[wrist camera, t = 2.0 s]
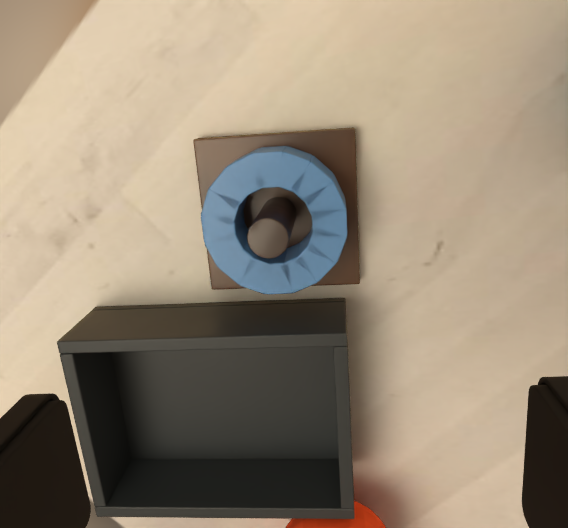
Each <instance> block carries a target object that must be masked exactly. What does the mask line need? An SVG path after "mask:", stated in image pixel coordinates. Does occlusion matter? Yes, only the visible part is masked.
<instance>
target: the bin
mask: <svg viewBox="0 0 568 528" xmlns="http://www.w3.org/2000/svg"><path fill="white" fill-rule="evenodd" d="M57 344H58V349H59V353H61V354H60V357H61V362H62V366H63V371H64V375H65V379H66V384H67V388H68V392H69V397H70V401H71V405H72V410H73V414H74V419H75V423H76V427H77V432H78V436H79V440H80V445H81V449H82V454H83V458H84V462H85V467H86V471H87V475H88V480H89V484H90V489H91V493H92V497H93V502H94V505H95V511H96V515H97V516H98V517H189V518H292V519H354V518H355V514H354V489H353V464H352V439H351V414H350V389H349V364H348V339H347V321H346V306H345V298H335V299H307V300H279V301H251V302H223V303H195V304H167V305H139V306H111V307H95V308H94V309H93V310H92V311H91V312H90V313H89V314H88V315H86V316H85V317H84V318H83V319H82V320H81V321H80V322H79V323H77V324H76V325H75V326H74V327H73V328H72V329H71V330H70V331H69V332H67V333H66V334H65V335H64V336H63V337H62V338H61V339H60V340H59V341H58V342H57Z"/></svg>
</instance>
